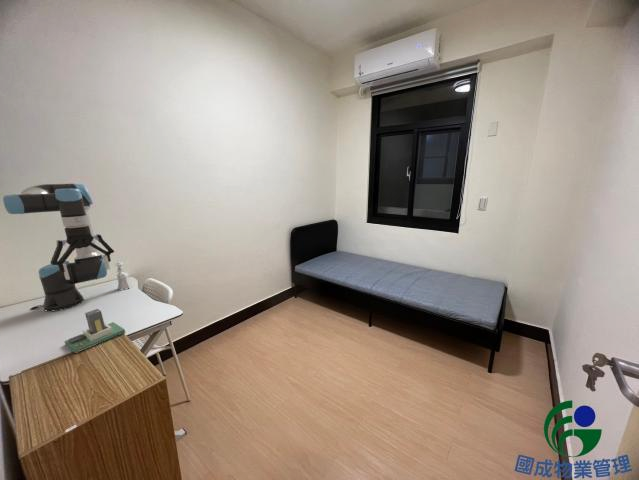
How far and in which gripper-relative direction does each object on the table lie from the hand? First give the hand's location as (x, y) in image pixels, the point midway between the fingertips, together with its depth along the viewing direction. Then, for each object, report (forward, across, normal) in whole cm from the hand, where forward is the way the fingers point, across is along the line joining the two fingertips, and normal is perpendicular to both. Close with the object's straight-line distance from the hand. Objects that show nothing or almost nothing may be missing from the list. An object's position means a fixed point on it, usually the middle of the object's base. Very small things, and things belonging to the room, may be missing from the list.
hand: (88, 273), depth 108 cm
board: (+24, -6, -13) cm, 28 cm away
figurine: (+26, +24, +40) cm, 53 cm away
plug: (+22, -5, -13) cm, 27 cm away
